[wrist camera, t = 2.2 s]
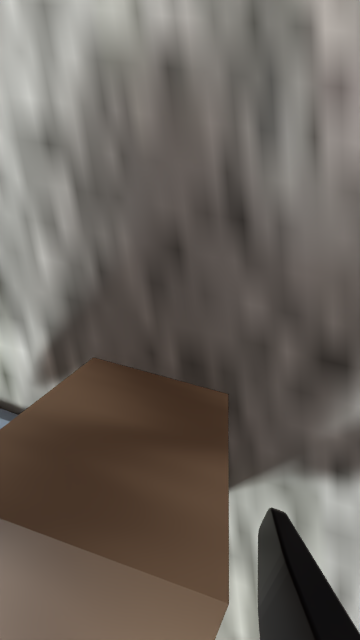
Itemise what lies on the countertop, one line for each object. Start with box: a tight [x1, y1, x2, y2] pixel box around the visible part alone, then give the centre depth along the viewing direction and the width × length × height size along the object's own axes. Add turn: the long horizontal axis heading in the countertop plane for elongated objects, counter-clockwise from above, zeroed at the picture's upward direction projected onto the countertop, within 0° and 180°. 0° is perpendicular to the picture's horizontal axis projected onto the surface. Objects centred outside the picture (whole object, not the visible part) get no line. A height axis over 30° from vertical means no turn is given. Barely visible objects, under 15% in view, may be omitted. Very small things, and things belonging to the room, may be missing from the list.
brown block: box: [0, 357, 229, 640], centre depth 6 cm, size 4×4×5 cm
